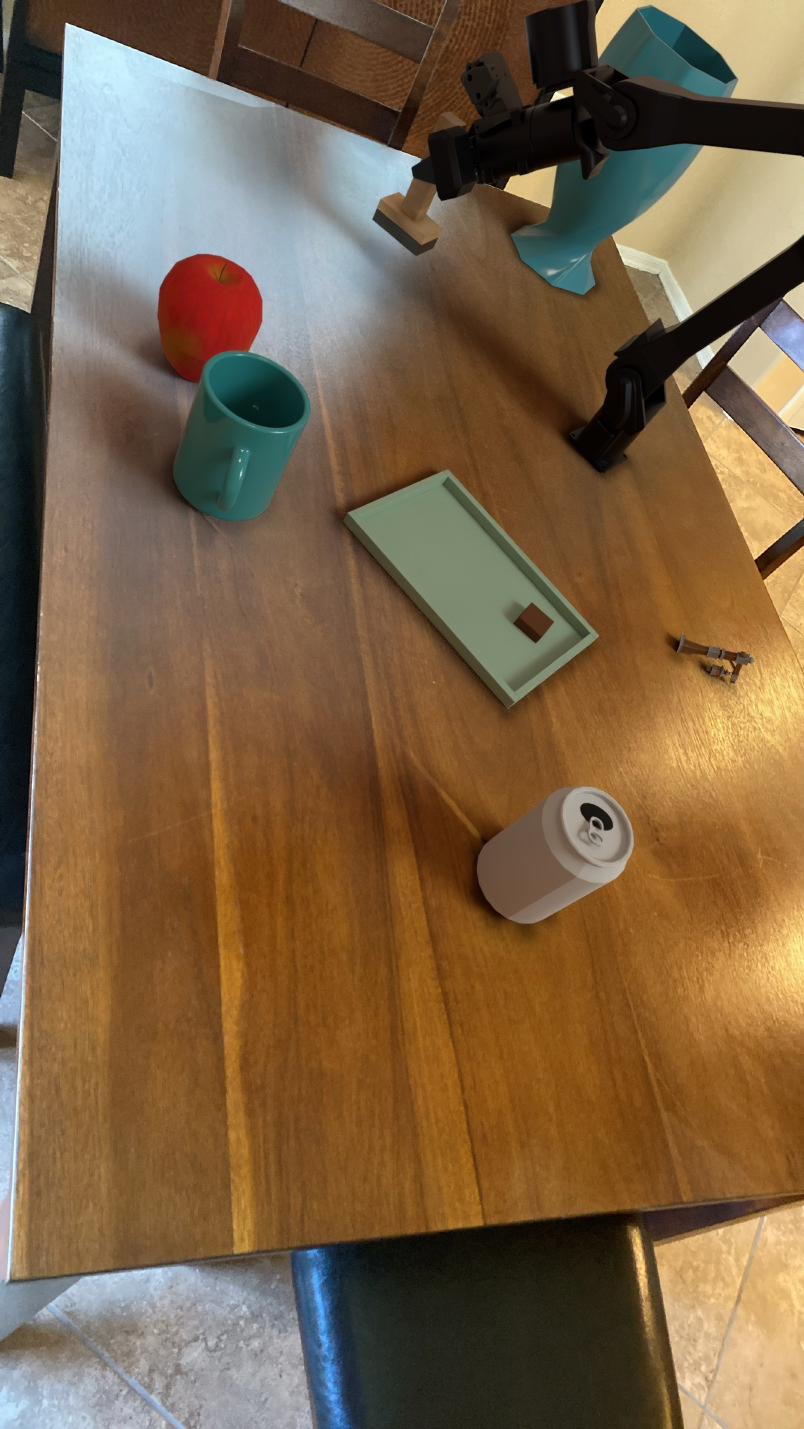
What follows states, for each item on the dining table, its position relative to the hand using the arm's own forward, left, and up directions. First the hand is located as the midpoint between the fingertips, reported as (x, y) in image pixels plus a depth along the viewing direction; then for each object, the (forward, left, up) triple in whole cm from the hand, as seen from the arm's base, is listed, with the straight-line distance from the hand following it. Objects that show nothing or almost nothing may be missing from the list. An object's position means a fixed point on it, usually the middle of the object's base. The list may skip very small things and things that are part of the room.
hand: (418, 170), depth 100 cm
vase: (-35, +6, -12) cm, 37 cm away
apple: (+37, +10, -12) cm, 40 cm away
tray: (+28, +43, -11) cm, 53 cm away
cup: (+45, +24, -12) cm, 53 cm away
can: (+48, +66, -12) cm, 83 cm away
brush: (0, +2, -7) cm, 7 cm away
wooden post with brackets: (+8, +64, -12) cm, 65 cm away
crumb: (+26, +50, -11) cm, 57 cm away
